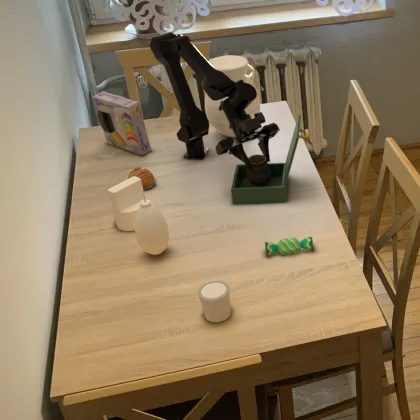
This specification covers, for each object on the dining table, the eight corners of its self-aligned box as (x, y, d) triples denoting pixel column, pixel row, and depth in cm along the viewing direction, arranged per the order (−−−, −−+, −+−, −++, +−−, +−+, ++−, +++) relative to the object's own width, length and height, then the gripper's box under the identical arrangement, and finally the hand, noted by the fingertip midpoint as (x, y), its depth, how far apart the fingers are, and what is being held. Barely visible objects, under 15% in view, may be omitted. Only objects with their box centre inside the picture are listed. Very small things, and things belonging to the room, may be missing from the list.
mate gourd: (268, 174, 196) (265, 144, 191) (275, 186, 190) (272, 156, 185) (245, 179, 194) (241, 149, 189) (250, 191, 188) (247, 161, 183)
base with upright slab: (136, 209, 186) (127, 172, 179) (157, 219, 181) (149, 181, 175) (109, 224, 180) (99, 186, 173) (130, 234, 175) (121, 196, 169)
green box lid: (296, 137, 177) (311, 141, 177) (298, 114, 189) (312, 118, 190) (283, 185, 185) (297, 189, 185) (285, 161, 197) (298, 164, 198)
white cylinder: (204, 304, 151) (199, 281, 147) (234, 302, 151) (230, 279, 147) (200, 325, 145) (196, 301, 141) (232, 323, 145) (228, 299, 142)
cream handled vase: (257, 116, 237) (249, 49, 224) (267, 138, 222) (260, 67, 209) (205, 124, 232) (194, 56, 219) (212, 147, 218) (201, 75, 204)
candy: (266, 256, 164) (264, 240, 164) (266, 256, 168) (264, 240, 168) (313, 251, 166) (312, 235, 166) (313, 251, 169) (311, 235, 169)
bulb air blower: (160, 264, 164) (147, 203, 154) (134, 258, 166) (119, 198, 157) (178, 246, 170) (166, 187, 160) (153, 241, 172) (139, 182, 163)
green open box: (232, 204, 187) (230, 189, 184) (238, 178, 199) (236, 164, 197) (285, 202, 188) (284, 187, 185) (288, 176, 200) (286, 162, 197)
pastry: (162, 184, 197) (159, 173, 195) (141, 193, 193) (139, 182, 191) (146, 174, 203) (143, 163, 201) (126, 182, 199) (123, 171, 197)
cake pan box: (103, 142, 222) (90, 94, 212) (115, 137, 225) (103, 88, 216) (140, 157, 212) (128, 107, 203) (152, 151, 216) (141, 101, 206)
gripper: (214, 114, 177) (238, 165, 176) (273, 96, 187) (297, 145, 186) (205, 130, 187) (228, 178, 186) (262, 112, 196) (284, 159, 195)
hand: (260, 165), depth 188 cm, fingers closed on mate gourd, 5 cm apart
